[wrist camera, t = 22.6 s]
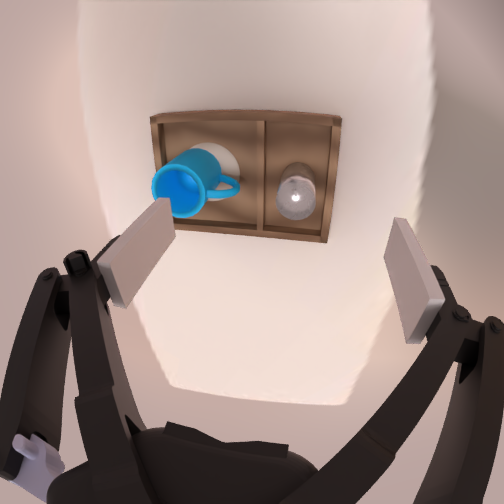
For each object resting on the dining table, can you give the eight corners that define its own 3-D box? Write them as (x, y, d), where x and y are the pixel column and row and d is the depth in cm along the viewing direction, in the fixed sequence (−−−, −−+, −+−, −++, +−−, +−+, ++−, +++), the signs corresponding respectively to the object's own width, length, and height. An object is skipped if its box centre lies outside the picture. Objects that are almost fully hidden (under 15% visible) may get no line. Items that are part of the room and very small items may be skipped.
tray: (158, 113, 41) (149, 116, 39) (339, 116, 37) (341, 118, 34) (171, 220, 52) (165, 228, 50) (326, 233, 48) (327, 243, 46)
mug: (174, 190, 47) (152, 212, 41) (175, 145, 43) (150, 160, 36) (242, 203, 47) (230, 228, 40) (248, 155, 42) (236, 173, 35)
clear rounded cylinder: (282, 160, 41) (276, 181, 34) (315, 164, 41) (317, 185, 33) (281, 191, 44) (274, 218, 37) (313, 194, 44) (313, 222, 36)
